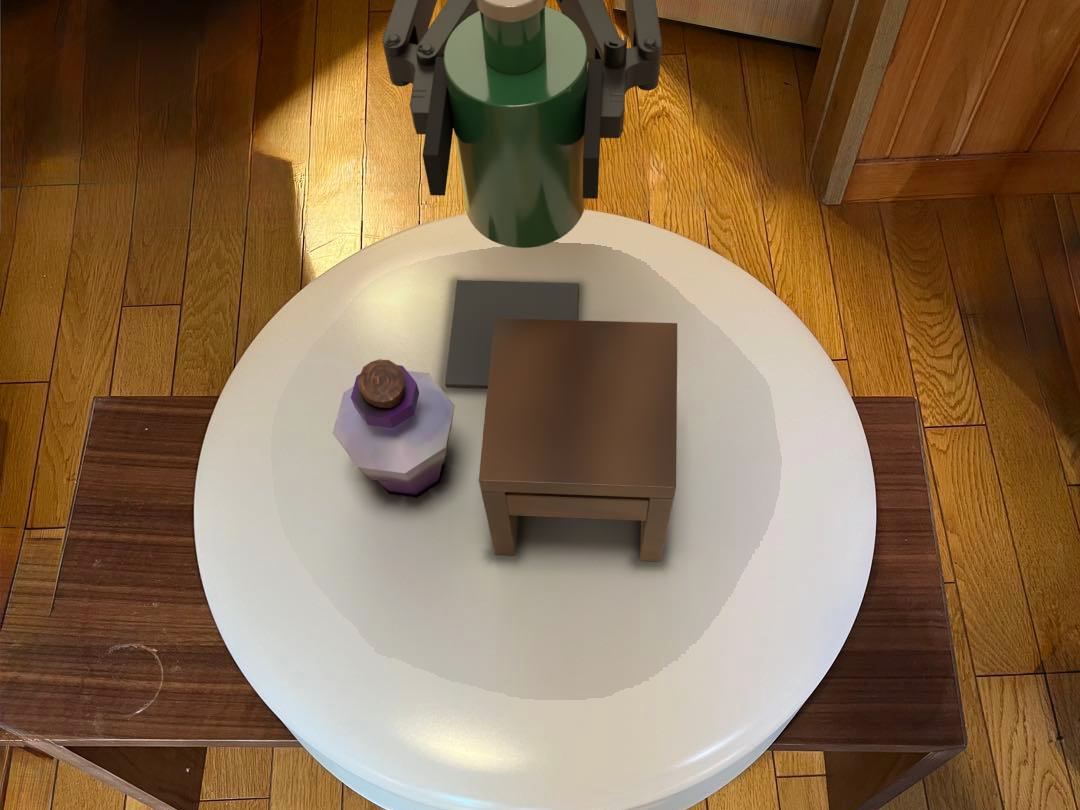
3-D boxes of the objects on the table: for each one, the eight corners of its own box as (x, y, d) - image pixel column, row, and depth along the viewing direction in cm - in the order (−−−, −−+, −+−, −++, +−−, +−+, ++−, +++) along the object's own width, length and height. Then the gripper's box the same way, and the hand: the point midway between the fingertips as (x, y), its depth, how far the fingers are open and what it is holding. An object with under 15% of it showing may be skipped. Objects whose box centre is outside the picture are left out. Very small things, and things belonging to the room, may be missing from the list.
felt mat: (578, 286, 79) (578, 282, 79) (573, 391, 75) (572, 388, 75) (457, 282, 80) (457, 279, 79) (445, 386, 76) (444, 384, 75)
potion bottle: (345, 429, 75) (304, 339, 64) (454, 405, 75) (432, 310, 64) (363, 528, 71) (323, 451, 60) (477, 502, 72) (458, 420, 61)
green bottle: (594, 160, 57) (599, -67, 44) (575, 255, 54) (575, 43, 42) (478, 147, 58) (450, -79, 45) (453, 240, 55) (416, 28, 42)
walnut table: (663, 416, 74) (677, 322, 63) (661, 561, 69) (676, 488, 58) (507, 411, 75) (494, 317, 64) (494, 554, 70) (478, 480, 59)
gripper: (703, -65, 59) (706, 233, 50) (382, -67, 60) (330, 225, 52) (720, -199, 52) (727, 120, 44) (357, -198, 54) (291, 113, 45)
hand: (512, 176), depth 48 cm, fingers closed on green bottle, 7 cm apart
